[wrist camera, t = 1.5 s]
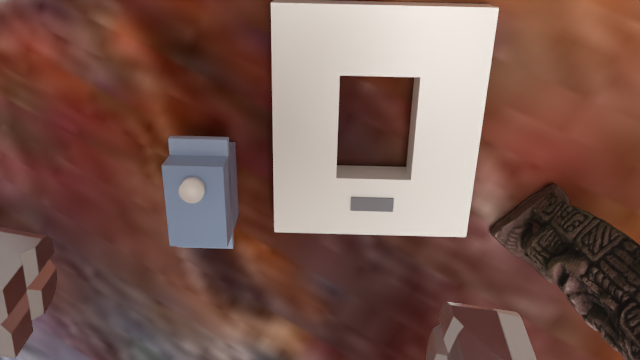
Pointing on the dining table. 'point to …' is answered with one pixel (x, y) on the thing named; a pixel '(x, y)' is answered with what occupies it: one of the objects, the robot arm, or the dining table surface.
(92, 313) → the dining table surface
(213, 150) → the servo
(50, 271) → the robot arm
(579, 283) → the statue
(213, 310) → the dining table surface
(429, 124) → the frame
